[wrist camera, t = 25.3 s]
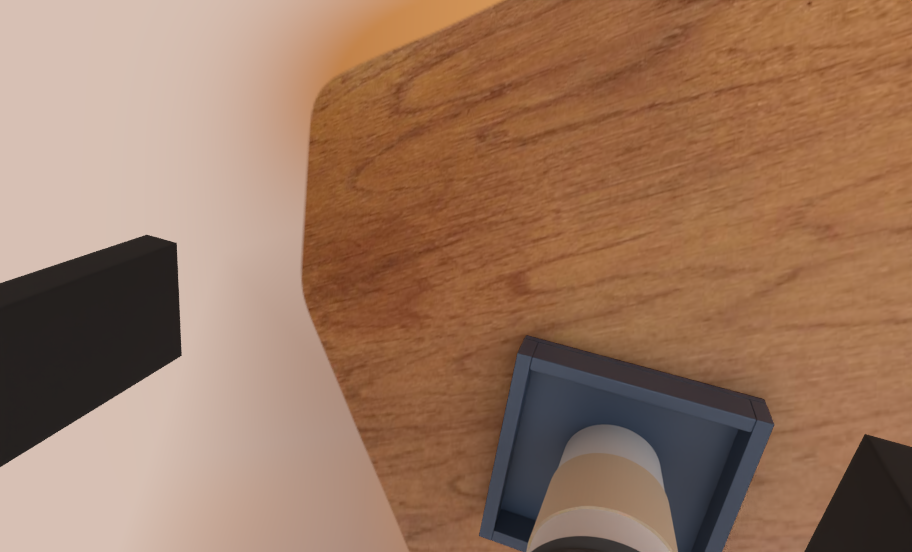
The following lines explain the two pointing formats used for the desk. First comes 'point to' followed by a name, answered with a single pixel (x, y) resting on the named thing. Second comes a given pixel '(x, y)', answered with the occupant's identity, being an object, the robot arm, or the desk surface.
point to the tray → (637, 409)
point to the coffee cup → (605, 497)
